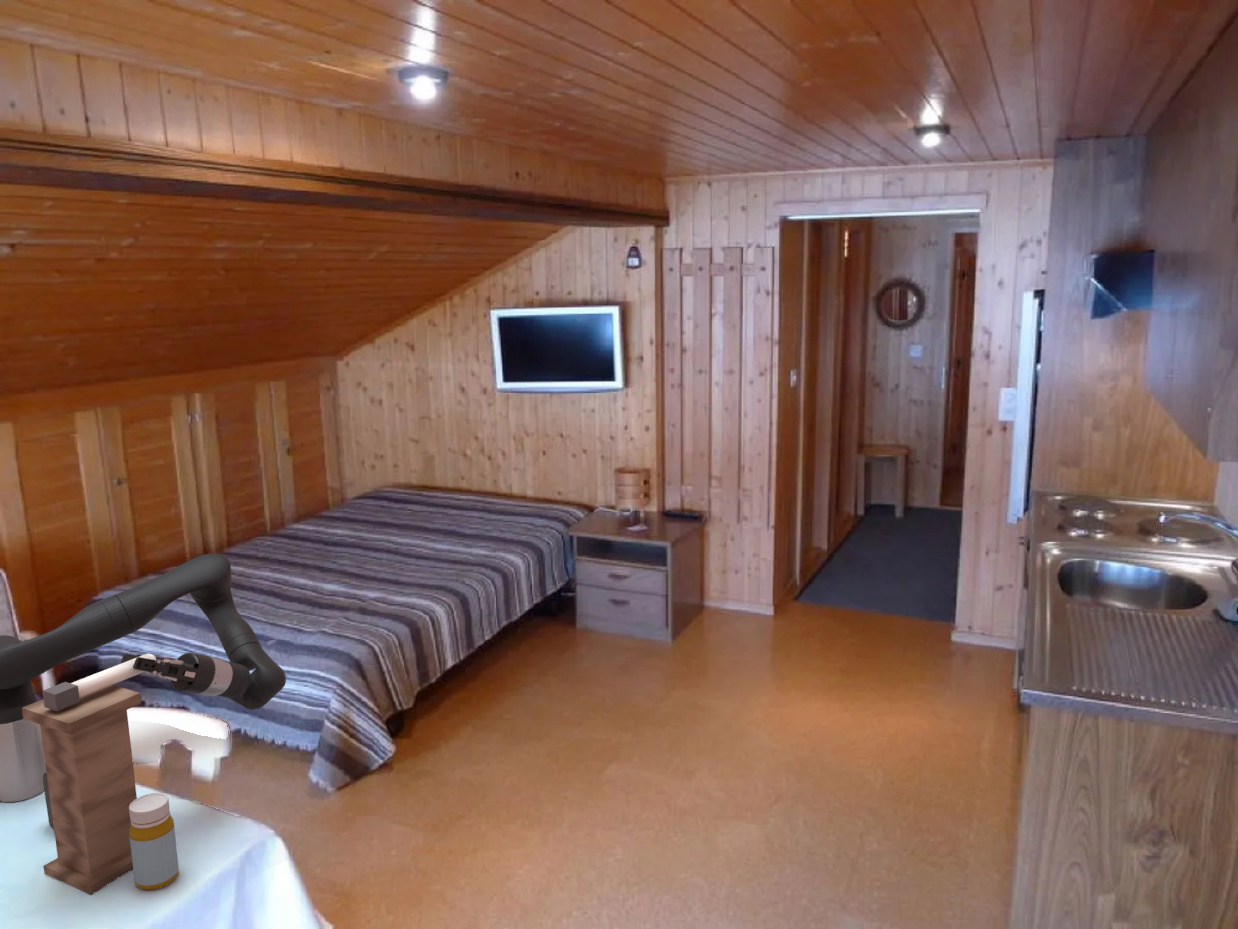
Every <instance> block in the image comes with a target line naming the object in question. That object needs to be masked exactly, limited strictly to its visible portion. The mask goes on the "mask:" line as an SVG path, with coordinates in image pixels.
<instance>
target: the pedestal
mask: <svg viewBox="0 0 1238 929" xmlns="http://www.w3.org/2000/svg"><path fill="white" fill-rule="evenodd" d="M79 700H80V702H78V703H76V704H73V705H71V706H68V707H66V708H64V709H61V710H59V711H55V710H52V709H49V708H46V707H44V699H41V700H37V702H35V703H33V704H30V705H28V706H25V707H23V708H22V714H23V719H26V720H29V721H32V722H34V723H37V724H40V729H41V736H42V744H43V751H44V759H45V766H46V774H47V781H48V789H49V796H50V804H51V811H52V819H53V826H54V829H53V833H54V839H55V840H54V841H55V848H56V856H57V858H54V859H53V860H51V861H49V862H47V863H46V864H44V865H43V871H44V872H43V873H44V875H46V876H48V877H51V878H53V879H54V880H58V881H60V882H61V883H63V884H66V885H68V886H70V887H72V888H75V889H77V890H79V891H82V892H83V893H86V894H88V895H90V896H92V895H93V894H95V893H96V892H98V891H100V890H101V889H102V888H105V887H107V886H108V885H109V883H110V884H111V883H113V882H114V881H116V880H117V878H118V877H119V878H120V877H123V876H124V875H126V874H128V873H129V872H131V871H133V863H132V854H131V846H130V837H129V830H130V826H131V819H130V813H129V806H130V804H131V803H132V802H133V801H134V800H135V799H137V798H138V797H137V788H136V779H135V770H134V763H133V762H134V761H133V753H132V746H131V745H132V744H131V735H130V726H129V718H128V710H129V709H131V708H134V707H136V706H138V705H140V704H142V699H141V692H139V691H135V690H132V689H128V688H125V687H120V686H117V685H115V684H113V685H111V686H108V687H106V688H103V689H101V690H99V691H96V692H94V693H91V694H89V695H86V696H84V697H81V698H79ZM128 871H129V872H128ZM125 873H126V874H125ZM122 875H123V876H122ZM119 878H118V879H119ZM107 884H108V885H107Z"/></svg>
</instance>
